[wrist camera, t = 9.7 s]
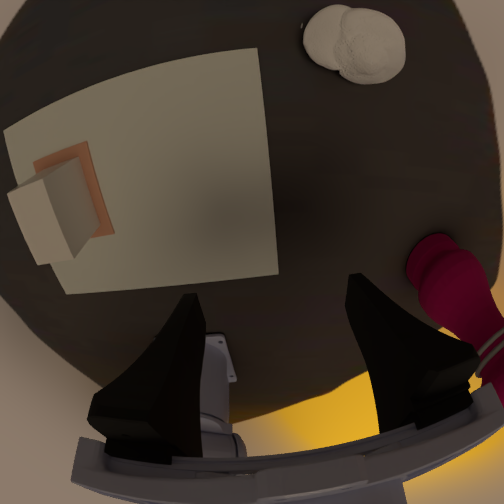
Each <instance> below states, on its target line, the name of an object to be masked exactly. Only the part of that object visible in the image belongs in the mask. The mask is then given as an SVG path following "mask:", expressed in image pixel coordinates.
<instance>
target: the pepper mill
mask: <svg viewBox="0 0 504 504" xmlns="http://www.w3.org/2000/svg"><path fill="white" fill-rule="evenodd" d="M406 273H407V276H408V278H409V280H410V281H411V283H412V284H413V286H414V287H415V288H416V289H417V290H418V291H419V292H418V297H419V302H420V305H421V307H422V308H423V310H424V311H425V312H426V313H427V315H428V316H429V317H430V318H431V319H432V320H434V321H435V322H436V323H438V324H439V325H441V326H443V327H444V328H446V329H448V330H449V331H451V332H452V333H454V334H455V335H456V336H457V337H458V338H459V339H460V340H461V341H464V342H467V343H470V344H472V345H473V346H474V348H475V350H476V351H477V353H478V355H479V356H480V359H481V362H480V365H479V367H478V368H477V370H476V371H475V375H476V377H478V378H482V384H481V387H482V386H484V385H486V384H488V383H489V382H491V383H492V385H493V387H494V389H495V391H496V393H497V395H498V397H499V399H500V401H501V404H502V406H503V408H504V318H503V317H502V315H501V313H500V312H499V310H498V308H497V307H496V304H495V302H494V299H493V297H492V294H491V291H490V288H489V284H488V281H487V277H486V274H485V272H484V269H483V267H482V265H481V264H480V262H479V261H478V260H477V258H476V257H475V256H474V255H473V254H472V253H471V252H469V251H467V250H464V249H459V247H458V245H457V244H456V243H455V242H454V241H453V240H452V239H451V238H450V237H449V236H447V235H446V234H442V233H437V234H432V235H430V236H428V237H426V238H424V239H423V240H422V241H420V242H419V243H418V244H417V245H416V247H415V248H414V249H413V251H412V252H411V254H410V256H409V258H408V261H407V266H406Z"/></svg>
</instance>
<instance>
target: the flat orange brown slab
mask: <svg viewBox="0 0 504 504" xmlns="http://www.w3.org/2000/svg"><path fill="white" fill-rule="evenodd" d="M78 156H79V159H80V163H81V166H82V170H83V173H84V176H85V180H86V183H87V186H88V189H89V192H90V196H91V199H92V202H93V204H94V207H95V210H96V213H97V216H98V219H99V221H100V224H101V225H100V226H99V227H98V229H97V230H96V231H95V232H94V234H93V235H92V236H91V237H90V238H95V237H100V236H106V235H112V234H115V232H114V229H113V226H112V223H111V220H110V217H109V214H108V211H107V208H106V205H105V202H104V199H103V196H102V193H101V189H100V186H99V183H98V179H97V176H96V172H95V169H94V165H93V162H92V158H91V154H90V150H89V146H88V142H87V141H85V142H82V143H79V144H76V145H73V146H71V147H68V148H65V149H63V150H60V151H58V152H55V153H53V154H50V155H48V156H46V157H43V158H41V159H39V160H36V161H34V162H33V165H34V169H35V172H36V174H37V173H38V172H40V171H42V170H43V169H46V168H48V167H51V166H53V165H56V164H59V163H61V162H64V161H67V160H69V159H72V158H75V157H78Z"/></svg>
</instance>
